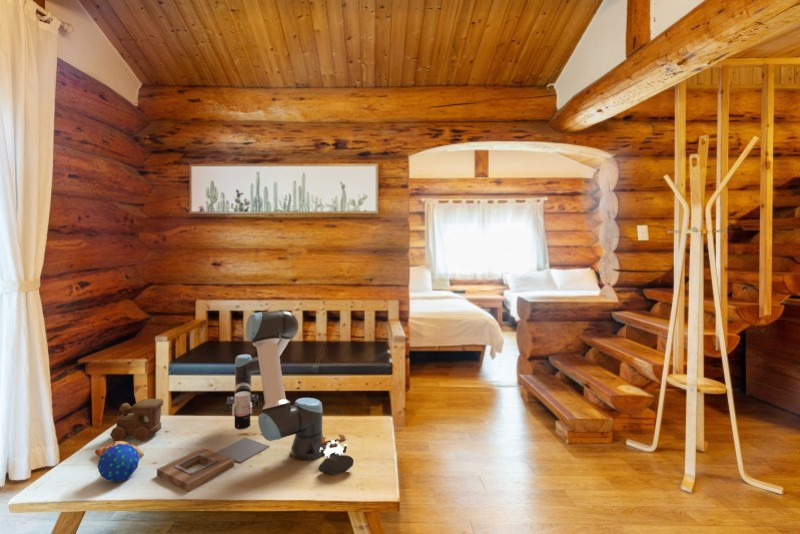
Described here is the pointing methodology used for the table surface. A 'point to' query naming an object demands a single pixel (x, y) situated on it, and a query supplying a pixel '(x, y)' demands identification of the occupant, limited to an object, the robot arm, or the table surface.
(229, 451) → the rubber mat
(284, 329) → the robot arm
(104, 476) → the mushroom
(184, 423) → the table surface
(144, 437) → the wooden toy train
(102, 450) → the croissant
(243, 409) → the beverage can
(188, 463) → the socket stand
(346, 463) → the figurine
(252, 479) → the table surface
